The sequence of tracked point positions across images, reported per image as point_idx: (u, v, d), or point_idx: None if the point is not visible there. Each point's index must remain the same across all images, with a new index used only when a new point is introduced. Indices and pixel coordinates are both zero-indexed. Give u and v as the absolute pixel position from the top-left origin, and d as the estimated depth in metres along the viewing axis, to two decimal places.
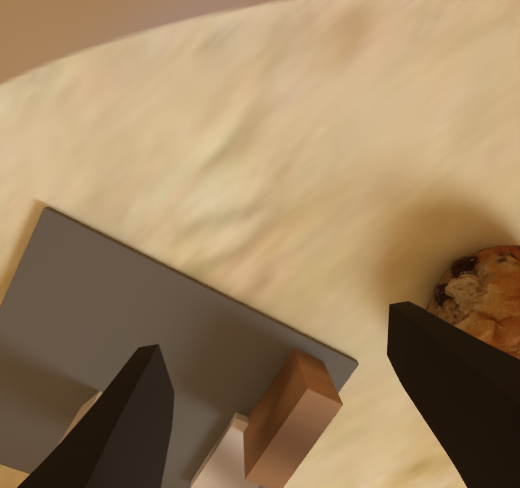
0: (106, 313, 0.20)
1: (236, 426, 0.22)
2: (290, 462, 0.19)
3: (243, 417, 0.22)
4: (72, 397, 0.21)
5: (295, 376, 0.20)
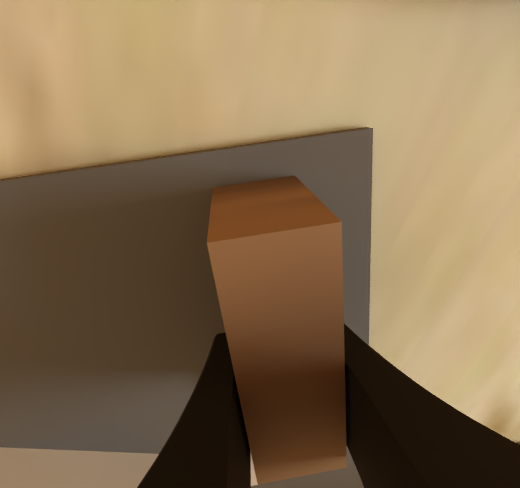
0: None
1: None
2: (321, 413, 0.08)
3: None
4: None
5: None
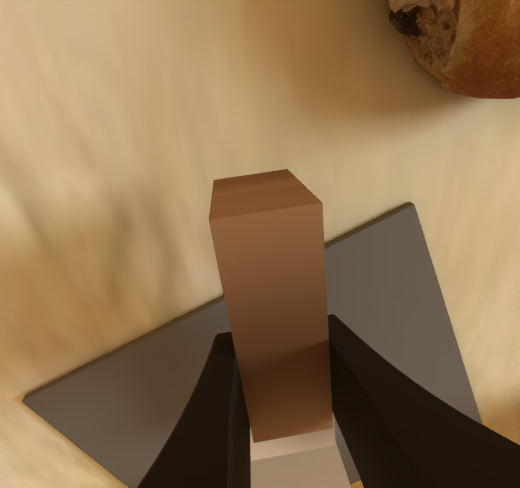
0: (161, 407, 0.18)
1: None
2: (309, 375, 0.09)
3: None
4: None
5: None
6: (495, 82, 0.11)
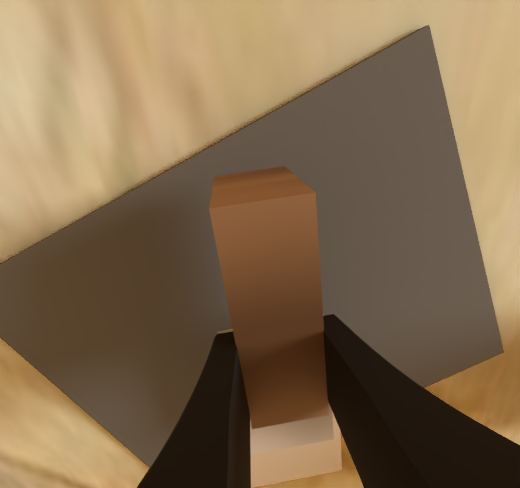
0: (122, 309, 0.15)
1: None
2: (305, 361, 0.09)
3: None
4: None
5: None
6: None
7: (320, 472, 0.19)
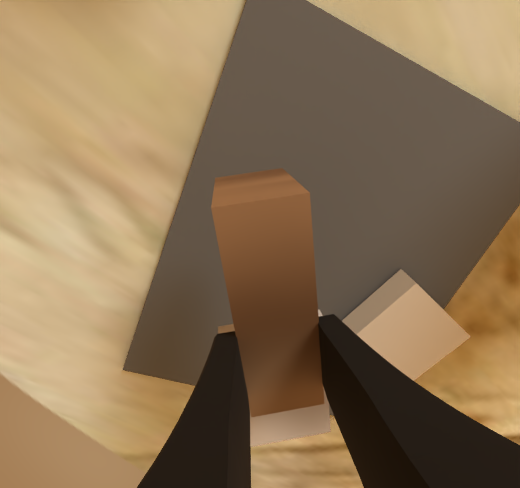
0: (218, 318, 0.20)
1: None
2: (301, 352, 0.10)
3: (231, 327, 0.13)
4: None
5: None
6: None
7: (452, 348, 0.20)
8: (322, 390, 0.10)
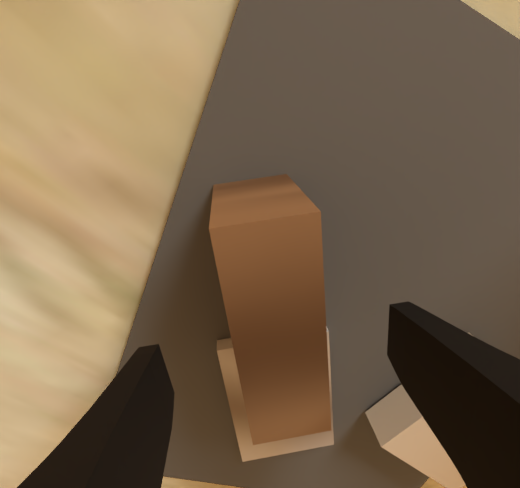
0: (217, 400, 0.14)
1: (227, 359, 0.13)
2: (307, 379, 0.09)
3: (231, 341, 0.13)
4: (349, 419, 0.16)
5: None
6: None
7: None
8: (329, 417, 0.09)
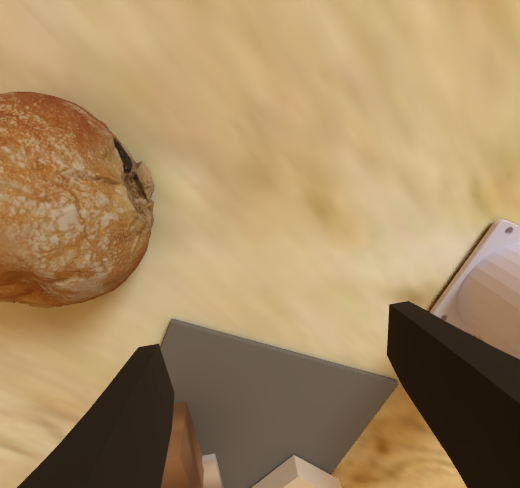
0: None
1: None
2: None
3: None
4: None
5: None
6: None
7: None
8: None
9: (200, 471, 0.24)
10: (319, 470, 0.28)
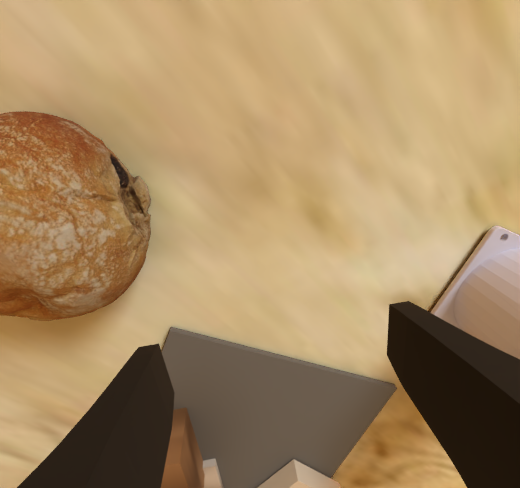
0: None
1: None
2: None
3: None
4: None
5: None
6: None
7: None
8: None
9: (201, 476, 0.25)
10: (319, 474, 0.28)
